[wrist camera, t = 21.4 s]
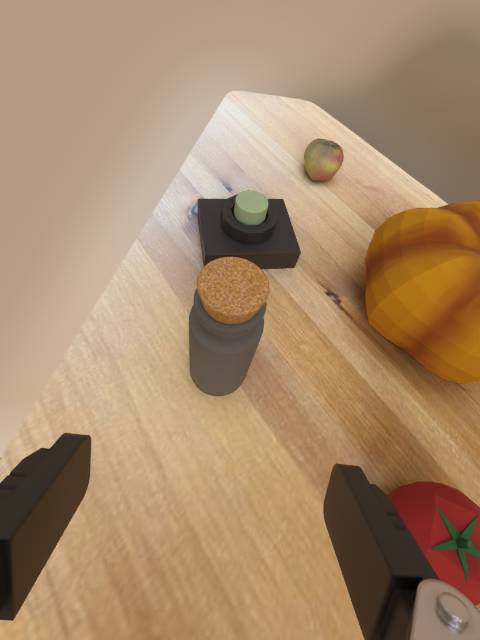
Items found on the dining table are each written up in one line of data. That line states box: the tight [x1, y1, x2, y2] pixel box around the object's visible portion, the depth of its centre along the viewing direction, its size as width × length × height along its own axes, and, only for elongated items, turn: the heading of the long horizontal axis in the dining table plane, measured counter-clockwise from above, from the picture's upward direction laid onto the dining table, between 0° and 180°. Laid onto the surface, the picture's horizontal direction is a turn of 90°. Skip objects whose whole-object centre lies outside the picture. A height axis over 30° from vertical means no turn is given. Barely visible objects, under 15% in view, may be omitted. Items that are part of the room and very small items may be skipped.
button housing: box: [198, 194, 301, 269], centre depth 41 cm, size 12×10×5 cm
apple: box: [304, 139, 343, 181], centre depth 50 cm, size 6×8×6 cm
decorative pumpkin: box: [365, 201, 480, 383], centre depth 33 cm, size 20×22×15 cm
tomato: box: [387, 482, 480, 606], centre depth 24 cm, size 8×8×7 cm
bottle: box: [189, 257, 269, 396], centre depth 26 cm, size 6×6×15 cm
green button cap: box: [234, 190, 269, 225], centre depth 38 cm, size 4×4×2 cm
